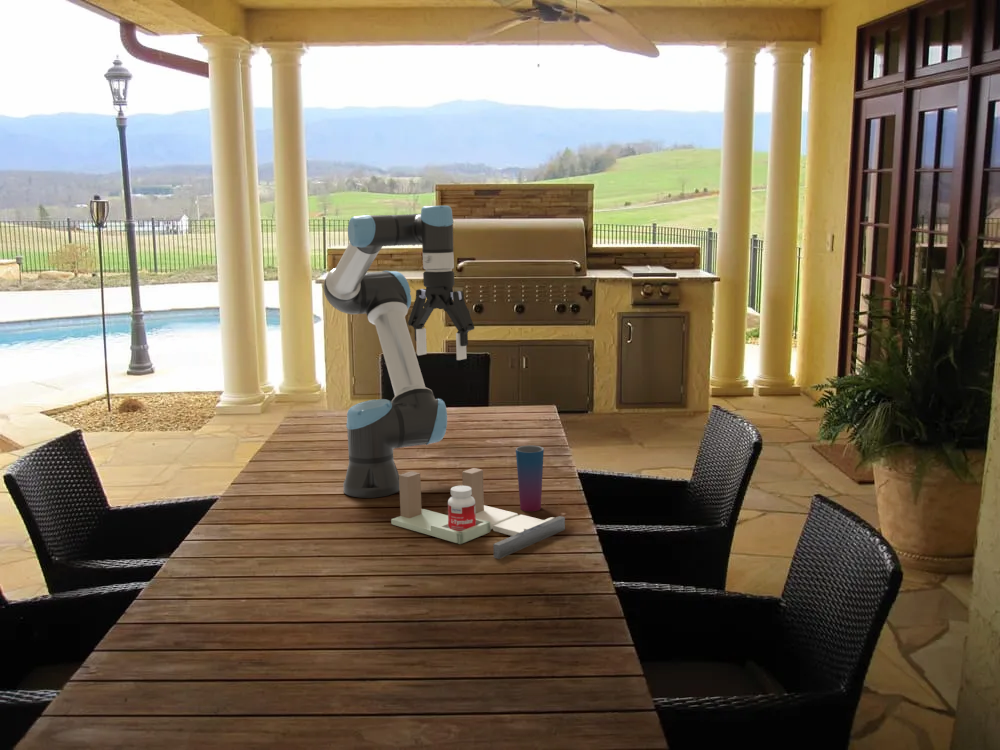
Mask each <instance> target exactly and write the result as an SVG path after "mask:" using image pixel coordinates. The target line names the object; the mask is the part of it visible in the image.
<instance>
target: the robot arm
mask: <svg viewBox="0 0 1000 750" xmlns="http://www.w3.org/2000/svg"><path fill="white" fill-rule="evenodd" d="M420 211H421V212H420V213H411V214H379V215H378V214H376V215H375V214H374V215H372V214H371V215H369V214H363V215H356V216H351V218H350V219H349V220H348V226H347V237H348V240H349V241H348V242H349V243H348V245H347V246H346V249H345V250H344V252H343V254H342V256H341V257H340V260H339V262H338V263H337V265H336V267H335V268H333V269H331V270H330V271H329V272H328V273H327V275H326V277H325V280H324V282H323V293H324V296H325V299H326V300H327V302H328V303H329V304H330V305H331V306H332V307H333V308H334V309H335V310H337V311H340V312H341V313H344V314H348V315H361V314H366V317H367V320H368V322H369V323H370V324H372V325H374V326H375V330H376V333H377V335H378V340H379V344H380V347H381V351H382V354H383V359H384V361H385V365H386V368H387V372H388V376H389V379H390V383H391V386H392V390H393V394H394V397H393V398H392V400H389V399H385V398H380V399H369V400H364V401H361V402H358V403H356V404H354V405H351V407H350V408H349V409H348V410H347V412H346V426H345V427H346V430H347V431H346V432H347V447H348V448H347V449H348V464H347V465H348V466H347V469H346V475H345V479H344V480H343V483H342V485H343V493H344V494H345V495H347V496H350V497H352V498H360V499H361V498H362V499H363V498H365V499H367V498H368V499H371V498H372V499H373V498H381V497H389V496H391V495H394V494H397V493H399V492H400V488H399V475H400V473H399V471H398V468H397V466H396V463H395V460H394V458H395V457H394V449H399V448H409V447H414V446H425V445H426V446H429V445H431V444H434V443H439V442H440V441H442V440H443V438H444V437H445V435H446V432H447V426H448V412H447V411H448V410H447V406H446V403H445V401H444V400H443V399H442V398H435V395H434V392H433V390H432V389H430V388H428V387H426V385H425V381H424V378H423V374H422V372H421V371H422V370H421V368H420V365H419V364H420V363H419V361H418V358H417V356H423V355H427V354H428V353H427V351H428V349H427V328H426V327H425V325H426V323H427V321H428V320H429V318H430V316H431V315H432V313H433V311H434V310H435V309H437V310H438V309H439V310H443V311H445V312H446V314H447V315H448V317H449V318H450V320H451V322H452V323H453V325H454V327H455V328H456V329H457V332H455V343H456V344H455V346H456V349H455V350H456V361H461V360H467V346H468V345H469V338H468V335H469V332H470V331H473V330H475V324H474V322H473V320H472V317H471V315H470V311H469V309H468V307H467V304H466V302H465V298H464V297H465V296H464V291H463V290H457V291H456V290H455V291H454V290H453V286H455V284H456V283H455V272H454V270H453V269H455V260H454V259H455V257H454V219H453V218H454V217H453V209H452V207H451V206H450V205H424V206H422V208H421V210H420ZM416 245H417V246H419V245H420V246H421V249H422V251H421V253H422V268H423V270H424V271H423V273H422V275H423V276H422V277H423V278H422V279H423V281H422V282H423V287H425V288H420V289H419V288H418V289H416V290H415V299H414V303H413V307H412V308H411V309H412V310H411V313H410V315H409V318H408V321H407V320H406V318H405V317H407V316H406V315H407V314H408V311H409V308H410V307H411V303H412V294H411V288H410V285H409V282H408V280H407V278H406V277H405V275H404V274H403V273H401V272H399V271H397V270H395V271H394V270H393V271H392V270H391V271H390V270H383V271H372V272H371V271H370V272H368V271H369V269H370V268H371V266H372V264H373V262H374V260H375V259H376V258H377V256H378V254H379V253H380V251H381V250H382V248H383V247H391V246H392V247H394V246H416ZM408 326H409V327H413V329H414V340H415V342H416V350H415V348H414V344H413V340H412V336H411V335H410V334H411V333H410V331H409V327H408Z"/></svg>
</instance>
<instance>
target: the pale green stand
mask: <svg viewBox="0 0 1000 750" xmlns="http://www.w3.org/2000/svg"><path fill="white" fill-rule="evenodd" d="M421 483H422V482H421V472H416V471H413V470H410V471H407V472H404V473H401V474H400V473H399V488H400V491H399V502H400V503H399V506H400V507H399V511H400V516H396V517H394V518H391V520H390V522H391V525H393V526H397V527H400V528H404V529H407V530H411V531H414V532H416V533H420V534H424V535H428V536H432V537H435V538H437V539H442V540H445V541H448V542H451V543H455V544H458V545H462V544H465V543H467V542H469V541H472V540H474V539H476V538H479V537H481V536H484V535H486V534H488V533H491V530H490V522H489V521H485V520H482V519H478V518H476V525H475V526H473V527H470V528H468V529H465V530H462V531H456V530H452V529H449V528H448V514H443V513H440V512H437V511H432V510H429V509H425V508H422V487H421Z"/></svg>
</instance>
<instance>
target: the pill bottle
mask: <svg viewBox="0 0 1000 750" xmlns="http://www.w3.org/2000/svg"><path fill="white" fill-rule="evenodd" d="M450 495H451V496H450V497H449V498H448V500H447V515H448V528H449V529H452V530H456V531H462V530H465V529H468V528H470V527H473V526H475V525H476V512H475V499H474V498H473V497H472V496H471V495H472V488H471V487H469V486H463V485H455V486H452V487H451V488H450Z"/></svg>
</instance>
